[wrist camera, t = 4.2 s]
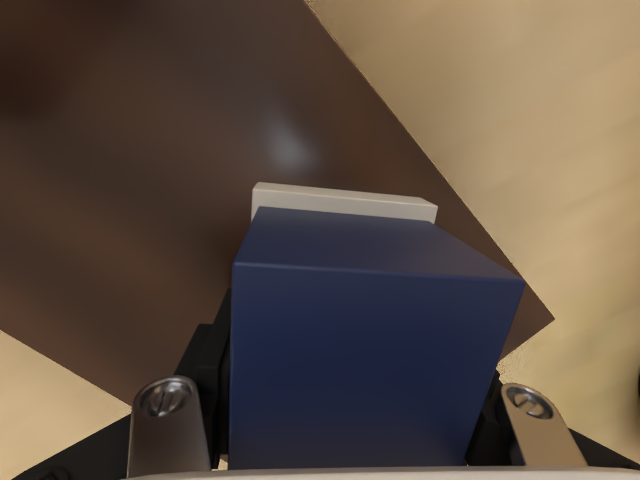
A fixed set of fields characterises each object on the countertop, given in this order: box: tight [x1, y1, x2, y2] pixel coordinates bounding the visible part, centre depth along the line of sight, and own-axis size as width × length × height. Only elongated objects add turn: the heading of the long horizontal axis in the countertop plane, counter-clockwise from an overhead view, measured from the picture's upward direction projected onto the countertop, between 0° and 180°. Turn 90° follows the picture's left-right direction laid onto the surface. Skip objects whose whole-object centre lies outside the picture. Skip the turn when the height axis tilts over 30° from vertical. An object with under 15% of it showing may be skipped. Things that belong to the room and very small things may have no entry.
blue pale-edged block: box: [228, 182, 526, 470], centre depth 10 cm, size 13×6×6 cm, turn 174°
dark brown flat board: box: [0, 0, 555, 463], centre depth 12 cm, size 16×30×3 cm, turn 44°
